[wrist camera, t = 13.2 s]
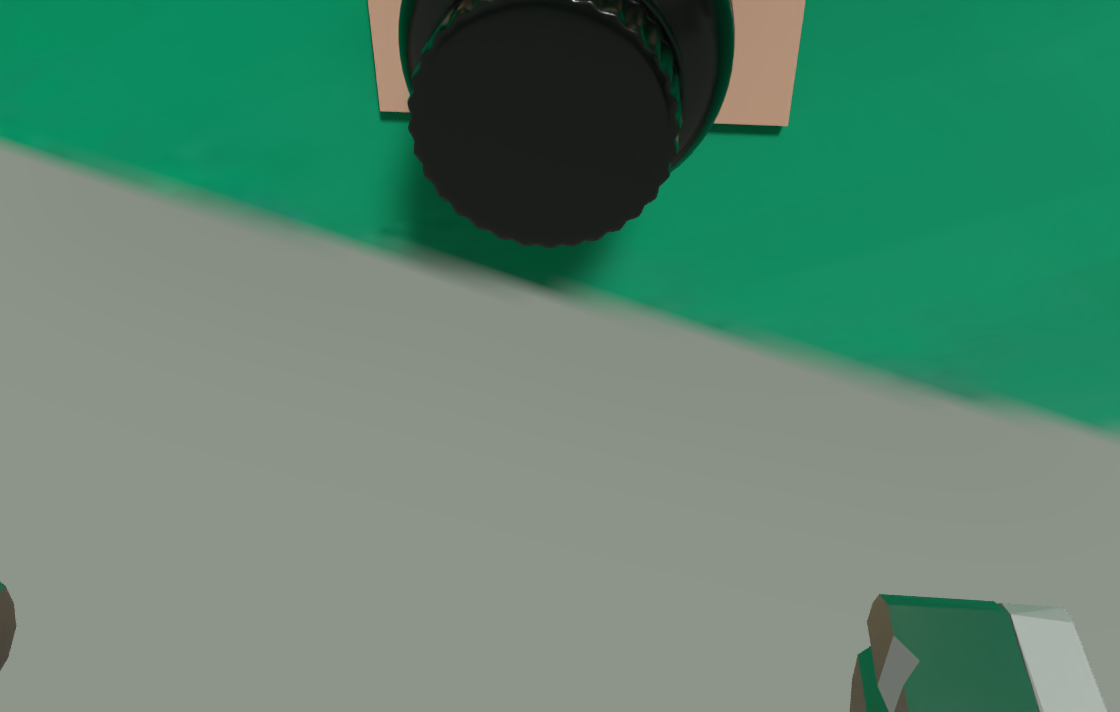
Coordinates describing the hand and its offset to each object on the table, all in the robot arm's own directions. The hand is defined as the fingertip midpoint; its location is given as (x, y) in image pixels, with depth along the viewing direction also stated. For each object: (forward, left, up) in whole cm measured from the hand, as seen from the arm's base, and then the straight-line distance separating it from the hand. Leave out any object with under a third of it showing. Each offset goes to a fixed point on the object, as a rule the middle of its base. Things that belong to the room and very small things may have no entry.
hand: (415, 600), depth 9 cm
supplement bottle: (0, 0, -22) cm, 22 cm away
